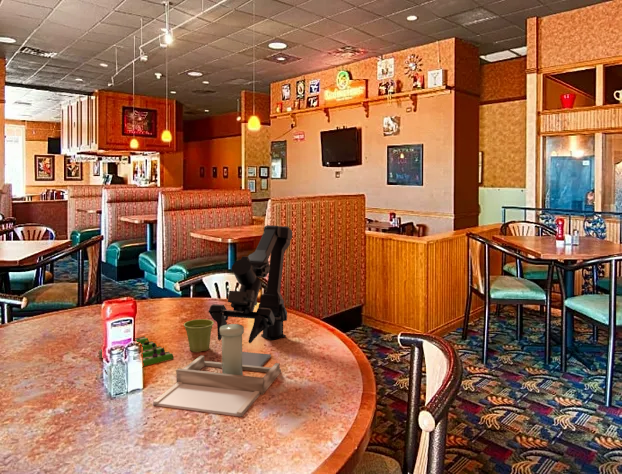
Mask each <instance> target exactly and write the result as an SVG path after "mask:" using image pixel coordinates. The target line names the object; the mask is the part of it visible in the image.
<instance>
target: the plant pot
mask: <svg viewBox="0 0 622 474" xmlns="http://www.w3.org/2000/svg"><path fill="white" fill-rule="evenodd" d="M214 322H215V321H214V320H211V319H204V318H203V319H202V318H201V319H199V318H198V319H191V320H188V321H185V322H184V323H183V327H184V328H185V331H186V336H187V341H188V347H189V350H190V351H191V352H193V353H200V352H202V351H203V352H207V351H208V350H209V349H210V346H211V345H210V343H211V336H212V329H213V326H214V324H215V323H214Z"/></svg>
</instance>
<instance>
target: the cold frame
mask: <svg viewBox="0 0 622 474" xmlns="http://www.w3.org/2000/svg"><path fill="white" fill-rule="evenodd" d="M205 359H206V358H205V355H200V356H198V357H197V358H196V359H194V360H193V361H191V362H190V363H188V364H187V365H186V366H185V367H183V368H177V369H176V370H175V371H176V372H175V373H176V374H175V375H176V376H175V377H176V379H175V380H176V383H177V382H182V384H189V385H197V386H206V387H214V388H223V389H231V390H240V391H249V392H254V391H259V395H264V394H265V392H266V391H267V390H268V389H269V388H270V386H271V385H272V383H274V381H276V379H277V378H278V376H279V375H280V374H281V373H282V368H280V363H277V362H276V363H274V364H273V365H272V366H271V367H270V366H269V367H268V366H262V367H260V366H250V365H242V371H250V372H252V371H253V372H261V373H265V374H264V375H263V377H258V376H251V375H234V374H225V373H222V372H214V371H207V370H206V371H205V370H201V369H203V368H204V367H213V368H222V361H221V362H220V361H219V362H218V361H211V360H210V361H209V360H205Z"/></svg>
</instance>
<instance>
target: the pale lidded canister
mask: <svg viewBox="0 0 622 474" xmlns="http://www.w3.org/2000/svg"><path fill="white" fill-rule="evenodd" d="M244 328H245V326H244V325H242V324H238V323H230V324H229V323H227V325H223V326H221V327H220V335H222V338H221V363H222V367H221V371H222V372H221V373H225V374H234V375H243V370H242V352H243V335H244V333H245V329H244ZM243 376H244V375H243Z"/></svg>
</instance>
